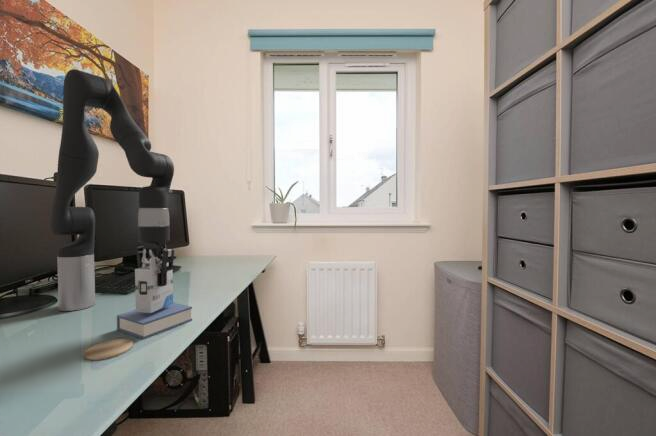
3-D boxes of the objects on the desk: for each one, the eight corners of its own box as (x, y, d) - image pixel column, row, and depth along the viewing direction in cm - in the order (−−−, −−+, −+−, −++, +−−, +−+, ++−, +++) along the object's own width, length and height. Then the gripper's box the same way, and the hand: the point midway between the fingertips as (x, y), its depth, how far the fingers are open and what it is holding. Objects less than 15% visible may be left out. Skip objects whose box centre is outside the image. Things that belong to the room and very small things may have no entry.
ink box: (159, 302, 87) (158, 252, 86) (173, 303, 86) (173, 253, 85) (134, 312, 78) (133, 257, 78) (150, 313, 77) (149, 258, 77)
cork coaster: (76, 354, 66) (76, 351, 66) (120, 338, 74) (120, 336, 74) (97, 364, 61) (96, 361, 61) (141, 346, 69) (141, 343, 69)
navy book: (116, 329, 79) (116, 315, 79) (166, 313, 91) (166, 300, 91) (143, 339, 73) (142, 323, 73) (192, 320, 86) (192, 306, 85)
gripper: (125, 224, 81) (126, 284, 82) (156, 226, 75) (157, 291, 75) (152, 223, 88) (152, 278, 88) (183, 224, 81) (184, 284, 82)
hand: (155, 284), depth 82 cm, fingers closed on ink box, 5 cm apart
